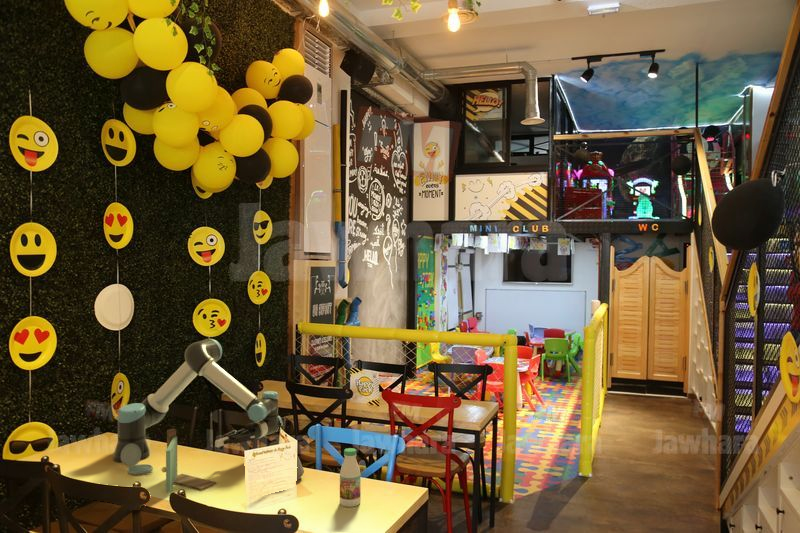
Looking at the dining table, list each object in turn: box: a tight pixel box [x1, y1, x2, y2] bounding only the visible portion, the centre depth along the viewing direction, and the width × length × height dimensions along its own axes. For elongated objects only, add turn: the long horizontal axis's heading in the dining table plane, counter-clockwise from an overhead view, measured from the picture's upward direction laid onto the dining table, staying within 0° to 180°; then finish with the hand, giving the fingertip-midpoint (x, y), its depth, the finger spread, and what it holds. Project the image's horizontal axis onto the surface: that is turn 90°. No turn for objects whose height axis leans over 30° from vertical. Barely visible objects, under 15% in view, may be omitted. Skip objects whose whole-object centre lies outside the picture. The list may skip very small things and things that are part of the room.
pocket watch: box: [120, 443, 154, 476], centre depth 258 cm, size 10×11×15 cm
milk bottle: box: [339, 447, 362, 508], centre depth 224 cm, size 8×8×20 cm
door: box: [161, 435, 178, 493], centre depth 240 cm, size 19×4×16 cm, turn 12°
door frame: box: [166, 428, 218, 491], centre depth 245 cm, size 22×8×20 cm, turn 61°
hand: (216, 443), depth 253 cm, fingers closed
